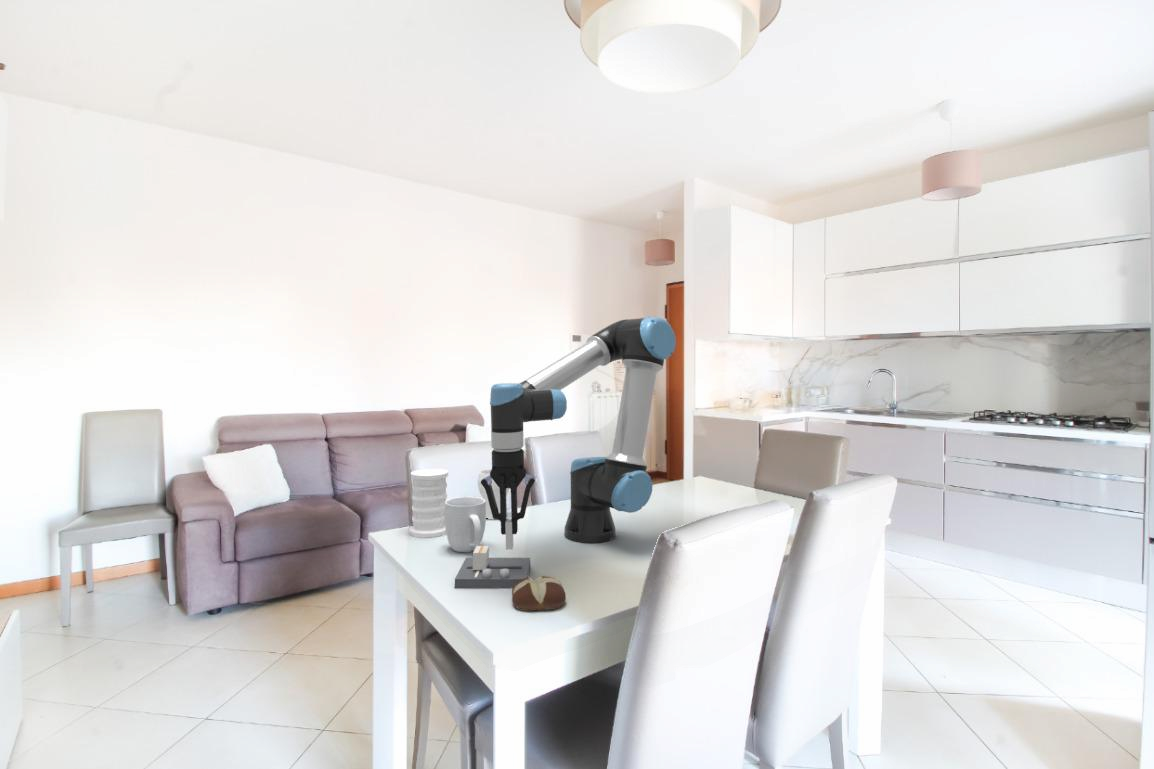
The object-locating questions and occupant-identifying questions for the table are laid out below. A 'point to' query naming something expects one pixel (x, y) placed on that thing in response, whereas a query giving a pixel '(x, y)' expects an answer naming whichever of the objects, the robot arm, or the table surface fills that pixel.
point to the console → (493, 573)
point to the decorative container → (428, 502)
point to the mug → (465, 522)
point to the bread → (538, 594)
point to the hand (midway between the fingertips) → (509, 547)
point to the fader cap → (480, 557)
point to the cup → (483, 493)
